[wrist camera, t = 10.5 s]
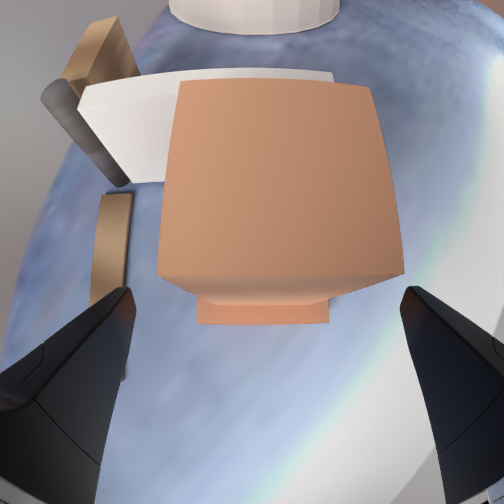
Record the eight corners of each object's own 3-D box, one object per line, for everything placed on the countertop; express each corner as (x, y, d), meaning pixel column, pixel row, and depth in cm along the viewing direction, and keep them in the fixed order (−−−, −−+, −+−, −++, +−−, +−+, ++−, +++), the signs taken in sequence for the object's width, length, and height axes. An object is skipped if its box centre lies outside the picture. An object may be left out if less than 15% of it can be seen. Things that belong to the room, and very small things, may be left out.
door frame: (126, 101, 22) (83, 13, 12) (152, 97, 22) (116, 4, 12) (92, 375, 17) (-12, 401, 7) (123, 380, 17) (26, 417, 7)
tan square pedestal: (319, 322, 18) (443, 317, 6) (204, 323, 18) (110, 323, 6) (314, 214, 20) (392, 69, 7) (206, 213, 20) (151, 61, 7)
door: (130, 202, 19) (68, 133, 11) (136, 164, 20) (85, 86, 12) (307, 200, 20) (342, 121, 11) (304, 160, 20) (332, 72, 12)
